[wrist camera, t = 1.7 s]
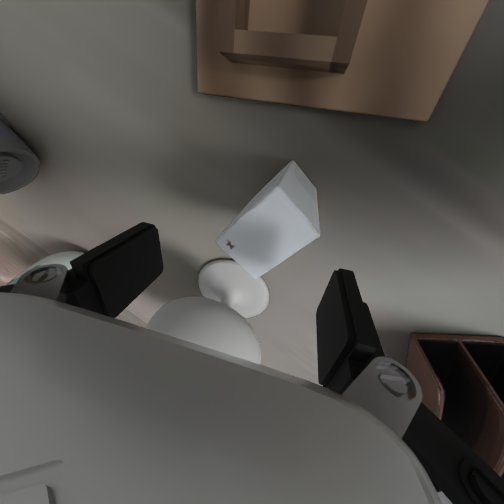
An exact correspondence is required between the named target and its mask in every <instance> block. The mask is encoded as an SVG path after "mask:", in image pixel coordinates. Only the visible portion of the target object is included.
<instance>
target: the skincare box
mask: <svg viewBox="0 0 504 504" xmlns="http://www.w3.org/2000/svg"><path fill="white" fill-rule="evenodd" d="M319 237H320V226H319V213H318V201H317V189H316V188H315V186H314V185H313V184H312V183H311V181H310V180H309V179H308V178H307V176H306V175H305V174H304V173H303V171H302V170H301V169H300V168H299V166H298V165H297V164H296V163H295V161H294V160H292V161H291V162H290V163H288V164H287V165H286V166H285V167H284V168H283V169H282V170H281V171H280V172H279V173H278V174H277V175H276V176H275V177H274V178H273V179H272V180H271V181H269V182H268V183H267V184H266V185H265V186H264V187H263V188H262V189H261V190H260V191H259V192H258V193H257V194H256V195H255V196H254V197H253V198H252V200H251V201H250V202H249V203H248V204H247V205H246V206H245V208H244V209H243V210H242V211H241V212H240V213H239V215H238V216H237V217H236V218H235V219H234V220H233V221H232V222H231V224H230V225H229V226H228V227H227V228H226V229H225V230H224V231H223V233H222V234H221V235H220V236H219V237H218V239H217V240H216V243H217V244H218V245H219V246H220V247H221V248H222V249H223V250H224V251H225V252H226V253H227V254H228V255H229V256H230V257H231V258H232V259H234V260H235V261H236V262H237V263H238V264H239V265H240V266H241V267H242V268H243V269H244V270H245V271H246V272H247V273H248V274H249V275H250V276H251V277H253V278H254V279H257V278H258V277H260V276H261V275H263V274H264V273H266V272H267V271H269V270H270V269H272V268H273V267H275V266H276V265H278V264H279V263H281V262H282V261H284V260H285V259H287V258H288V257H290V256H291V255H293V254H294V253H295V252H297V251H298V250H300V249H302V248H303V247H305V246H306V245H308V244H309V243H311V242H312V241H314V240H315V239H317V238H319Z"/></svg>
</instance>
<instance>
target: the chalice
mask: <svg viewBox="0 0 504 504" xmlns="http://www.w3.org/2000/svg"><path fill="white" fill-rule="evenodd" d="M198 284H199V288H200V291H201V293H202V295H203V297H197V296H191V297H184V298H178V299H175V300H173V301H171V302H169V303H167V304H165V305H164V306H162V307H161V308H160V309H159V310H158V311H157V312H156V313H155V314H154V316H153V317H152V318H151V320H150V321H149V323H148V324H147V326H146V328H147V329H150V330H153V331H157V332H160V333H163V334H166V335H169V336H173V337H176V338H179V339H182V340H185V341H188V342H191V343H195V344H198V345H201V346H204V347H207V348H210V349H213V350H217V351H220V352H223V353H226V354H229V355H232V356H235V357H238V358H241V359H245V360H248V361H251V362H254V363H257V364H260V362H261V350H260V345H259V341H258V338H257V336H256V334H255V332H254V330H253V328H252V326H251V325H250V324H249V323H248V322H247V320H246V319H245V318H250V317H254V316H257V315H258V314H260V313H262V312H263V311H264V310H265V309H266V307H267V305H268V303H269V290H268V288H267V285H266V283H265V282H264V280H263V279H262V278H261V276H260V277H258V278H257V279H254V278H253V277H251V276H250V275H249V274H248V273H247V272H246V271H245V270H244V269H243V268H242V267H241V266H240V265H239V264H238V263H237V262H236V261H233V260H216V261H212V262H210V263H208V264H206V265H205V266H204V267H203V268H202V269H201V271H200V273H199V277H198Z"/></svg>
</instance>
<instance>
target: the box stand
mask: <svg viewBox="0 0 504 504" xmlns="http://www.w3.org/2000/svg"><path fill="white" fill-rule="evenodd" d="M488 1H489V0H196V35H197V83H198V92H199V93H202V94H209V95H216V96H224V97H232V98H240V99H248V100H256V101H263V102H271V103H279V104H287V105H295V106H302V107H310V108H318V109H326V110H334V111H342V112H349V113H357V114H365V115H373V116H381V117H388V118H396V119H404V120H412V121H420V122H424V121H428V120H429V118H430V116H431V114H432V112H433V110H434V108H435V106H436V104H437V102H438V100H439V98H440V96H441V94H442V92H443V90H444V88H445V86H446V84H447V82H448V80H449V78H450V76H451V74H452V72H453V70H454V68H455V66H456V64H457V62H458V60H459V58H460V56H461V54H462V52H463V50H464V49H465V47H466V45H467V43H468V41H469V39H470V37H471V35H472V33H473V31H474V29H475V27H476V25H477V23H478V21H479V19H480V17H481V15H482V13H483V11H484V9H485V7H486V5H487V3H488Z"/></svg>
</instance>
